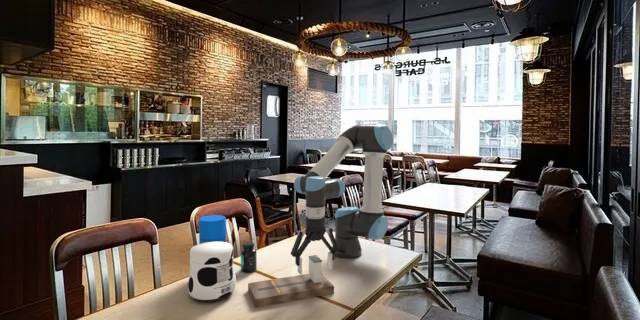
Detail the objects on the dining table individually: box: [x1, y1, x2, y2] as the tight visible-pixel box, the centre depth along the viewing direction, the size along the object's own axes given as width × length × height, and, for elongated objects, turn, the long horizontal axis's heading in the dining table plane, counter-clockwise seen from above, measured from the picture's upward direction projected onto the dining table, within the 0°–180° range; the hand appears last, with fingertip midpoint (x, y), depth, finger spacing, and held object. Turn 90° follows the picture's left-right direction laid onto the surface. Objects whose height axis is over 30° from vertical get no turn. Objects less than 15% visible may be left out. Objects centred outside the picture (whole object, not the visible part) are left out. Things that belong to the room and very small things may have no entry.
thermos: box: [198, 214, 227, 244], centre depth 149 cm, size 11×11×25 cm
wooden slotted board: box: [247, 273, 335, 308], centre depth 136 cm, size 30×14×3 cm, turn 112°
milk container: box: [187, 241, 237, 302], centre depth 133 cm, size 17×17×18 cm
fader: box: [308, 254, 323, 283], centre depth 139 cm, size 3×6×9 cm, turn 22°
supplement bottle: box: [240, 241, 258, 274], centre depth 156 cm, size 7×7×12 cm
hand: (315, 270), depth 139 cm, fingers open, 12 cm apart
